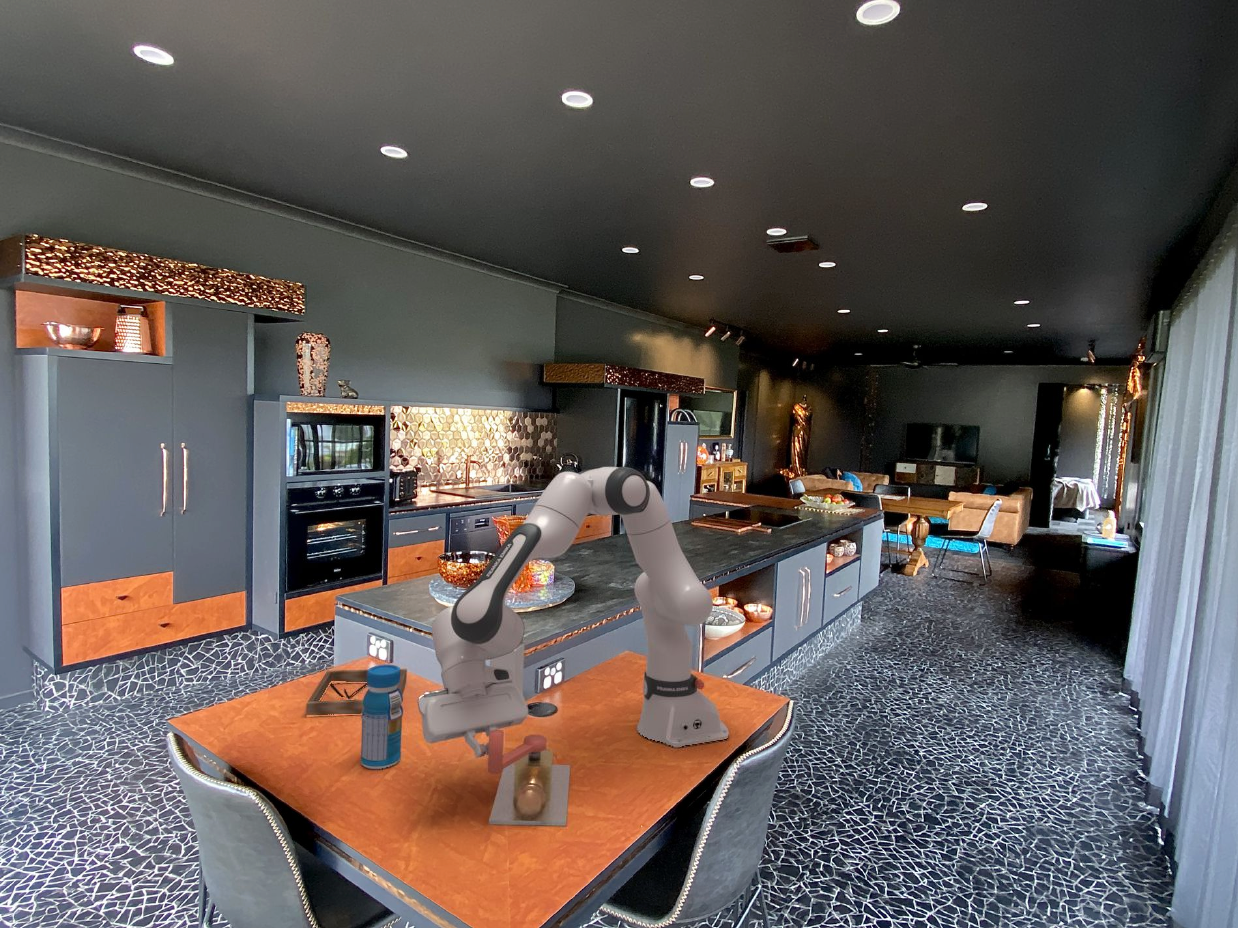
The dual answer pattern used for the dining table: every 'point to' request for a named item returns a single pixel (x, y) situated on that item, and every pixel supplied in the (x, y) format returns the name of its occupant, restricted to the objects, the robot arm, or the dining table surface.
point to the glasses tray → (345, 705)
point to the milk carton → (512, 664)
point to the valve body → (532, 792)
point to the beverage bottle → (382, 718)
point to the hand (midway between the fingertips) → (486, 754)
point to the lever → (502, 761)
